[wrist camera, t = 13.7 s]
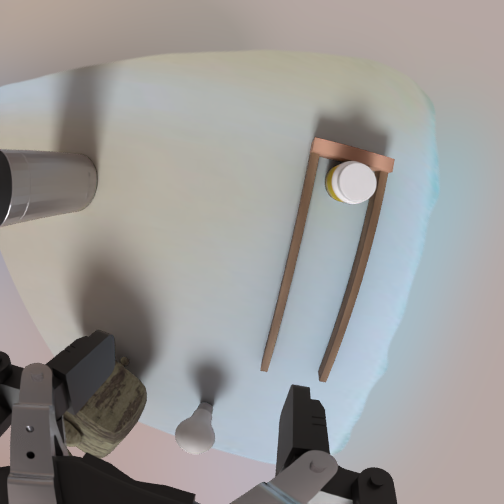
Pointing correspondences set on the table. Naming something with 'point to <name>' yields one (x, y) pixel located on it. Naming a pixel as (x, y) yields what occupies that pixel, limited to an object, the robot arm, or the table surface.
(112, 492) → the robot arm
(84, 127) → the table surface
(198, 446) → the lightbulb
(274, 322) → the guide track
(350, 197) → the supplement bottle
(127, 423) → the tabletop clock
